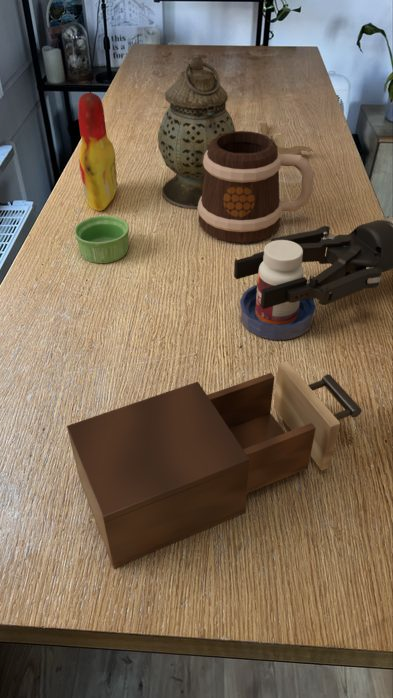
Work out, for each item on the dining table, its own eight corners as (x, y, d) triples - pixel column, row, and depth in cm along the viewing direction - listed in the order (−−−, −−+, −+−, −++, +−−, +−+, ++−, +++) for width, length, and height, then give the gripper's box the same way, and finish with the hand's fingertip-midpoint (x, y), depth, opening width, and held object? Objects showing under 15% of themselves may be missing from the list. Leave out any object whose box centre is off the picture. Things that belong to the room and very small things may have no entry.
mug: (196, 246, 101) (195, 162, 91) (198, 203, 112) (198, 124, 102) (313, 246, 100) (325, 162, 90) (303, 204, 111) (313, 124, 101)
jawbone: (277, 169, 123) (277, 160, 122) (230, 136, 137) (230, 128, 136) (313, 157, 126) (314, 148, 124) (263, 126, 140) (263, 117, 138)
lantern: (235, 178, 120) (240, 44, 103) (231, 212, 109) (236, 69, 92) (166, 175, 121) (160, 42, 104) (156, 209, 110) (148, 67, 93)
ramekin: (142, 250, 100) (140, 227, 97) (101, 272, 95) (98, 249, 92) (107, 231, 104) (104, 209, 101) (67, 252, 99) (62, 229, 97)
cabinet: (198, 435, 70) (197, 381, 64) (245, 512, 62) (249, 459, 56) (79, 479, 65) (66, 425, 59) (113, 568, 57) (102, 517, 51)
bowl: (327, 328, 84) (329, 314, 82) (262, 349, 81) (263, 335, 79) (288, 288, 91) (289, 275, 89) (227, 307, 88) (227, 293, 86)
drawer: (315, 391, 74) (323, 348, 69) (366, 451, 66) (379, 407, 62) (180, 441, 68) (179, 397, 63) (221, 512, 61) (223, 469, 56)
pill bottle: (249, 306, 87) (253, 240, 80) (288, 300, 89) (296, 234, 81) (263, 332, 83) (269, 265, 75) (304, 325, 84) (314, 258, 77)
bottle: (111, 216, 108) (99, 106, 95) (78, 215, 109) (60, 105, 95) (123, 187, 117) (112, 82, 104) (91, 186, 118) (77, 81, 104)
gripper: (349, 192, 91) (216, 226, 84) (439, 256, 77) (290, 302, 70) (342, 235, 96) (215, 270, 89) (425, 301, 82) (284, 349, 75)
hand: (248, 284), depth 79 cm, fingers open, 7 cm apart
